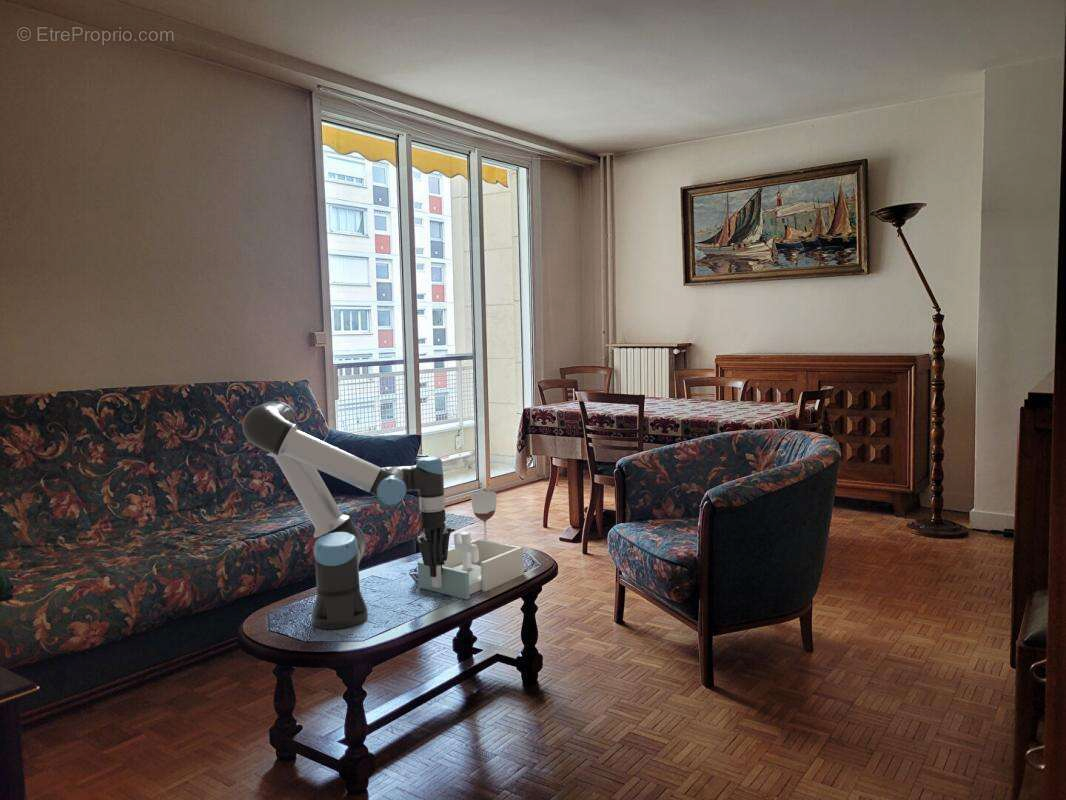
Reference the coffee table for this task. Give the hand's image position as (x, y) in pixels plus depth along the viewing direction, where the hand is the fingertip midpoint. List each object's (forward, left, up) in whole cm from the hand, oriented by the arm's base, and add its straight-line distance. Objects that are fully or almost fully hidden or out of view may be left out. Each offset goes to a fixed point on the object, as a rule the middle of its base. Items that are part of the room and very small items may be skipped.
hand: (437, 586), depth 232 cm
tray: (+10, +8, -3) cm, 13 cm away
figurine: (+11, +9, -2) cm, 14 cm away
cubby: (+17, +13, -3) cm, 21 cm away
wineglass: (+23, +35, -3) cm, 42 cm away
